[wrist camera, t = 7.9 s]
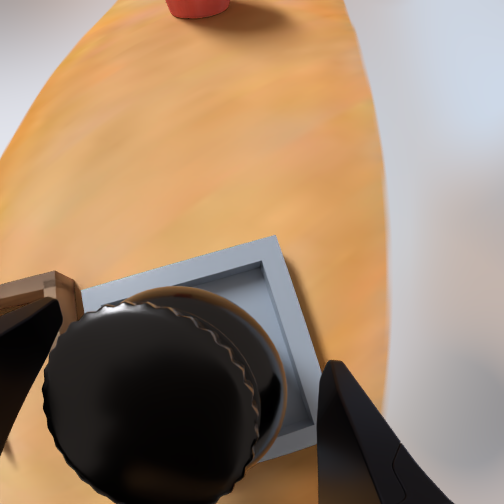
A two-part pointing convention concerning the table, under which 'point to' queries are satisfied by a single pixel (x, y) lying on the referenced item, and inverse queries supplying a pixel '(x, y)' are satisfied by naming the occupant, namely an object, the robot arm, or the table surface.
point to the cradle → (42, 294)
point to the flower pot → (196, 8)
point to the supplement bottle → (164, 396)
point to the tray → (259, 307)
